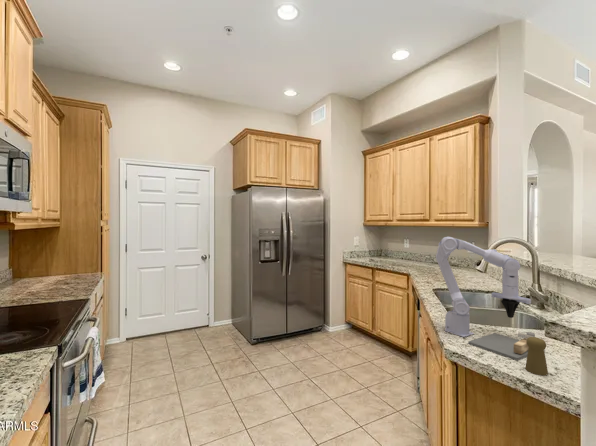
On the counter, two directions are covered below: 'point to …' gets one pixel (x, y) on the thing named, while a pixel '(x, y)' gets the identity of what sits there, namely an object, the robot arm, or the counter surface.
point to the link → (521, 346)
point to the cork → (536, 356)
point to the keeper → (524, 335)
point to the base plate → (500, 345)
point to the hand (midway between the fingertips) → (510, 317)
